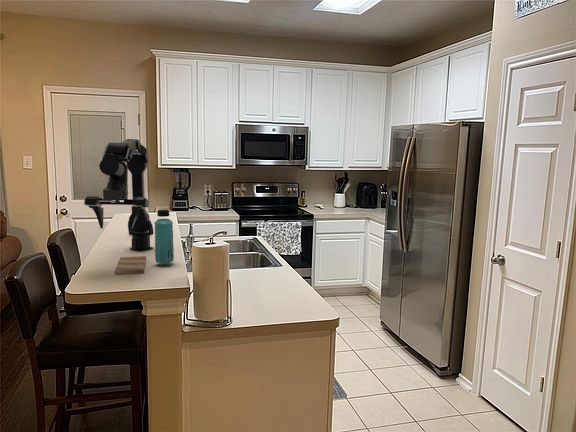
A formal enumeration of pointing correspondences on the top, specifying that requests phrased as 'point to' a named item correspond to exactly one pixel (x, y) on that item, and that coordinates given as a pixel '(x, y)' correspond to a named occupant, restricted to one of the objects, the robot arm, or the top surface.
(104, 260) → the top surface
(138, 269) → the walnut board
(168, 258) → the beverage bottle
